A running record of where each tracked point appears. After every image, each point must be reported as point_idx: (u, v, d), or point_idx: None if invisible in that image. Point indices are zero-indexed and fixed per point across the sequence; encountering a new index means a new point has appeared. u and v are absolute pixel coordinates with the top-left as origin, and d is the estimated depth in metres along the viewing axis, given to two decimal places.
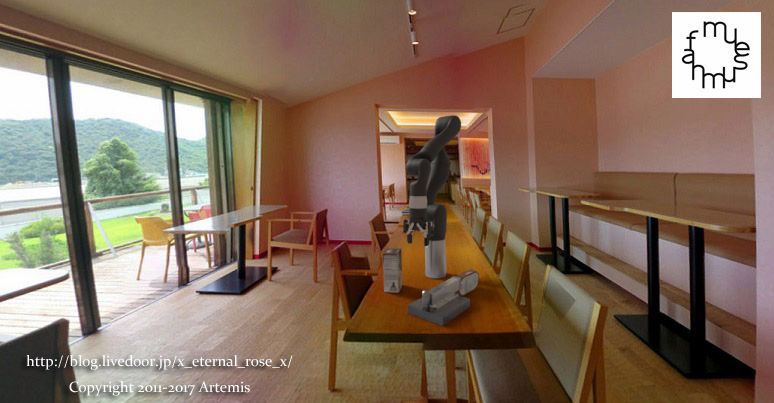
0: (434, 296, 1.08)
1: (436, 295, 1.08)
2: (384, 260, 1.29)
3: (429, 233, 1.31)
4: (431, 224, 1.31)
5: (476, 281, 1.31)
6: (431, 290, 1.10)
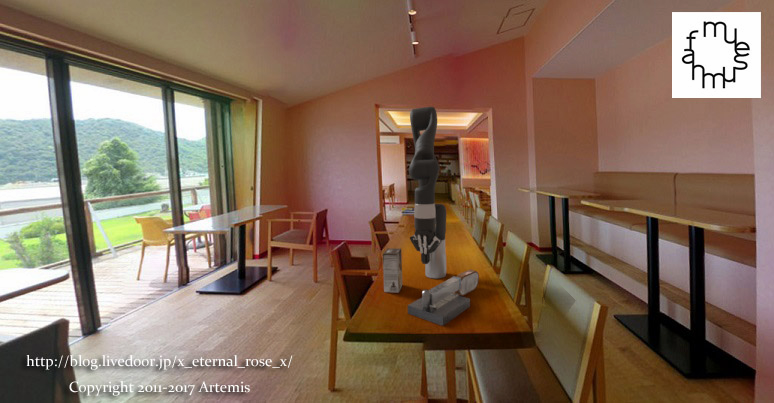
0: (434, 296, 1.08)
1: (436, 295, 1.08)
2: (384, 260, 1.29)
3: (429, 249, 1.14)
4: (438, 243, 1.12)
5: (476, 281, 1.31)
6: (431, 290, 1.10)
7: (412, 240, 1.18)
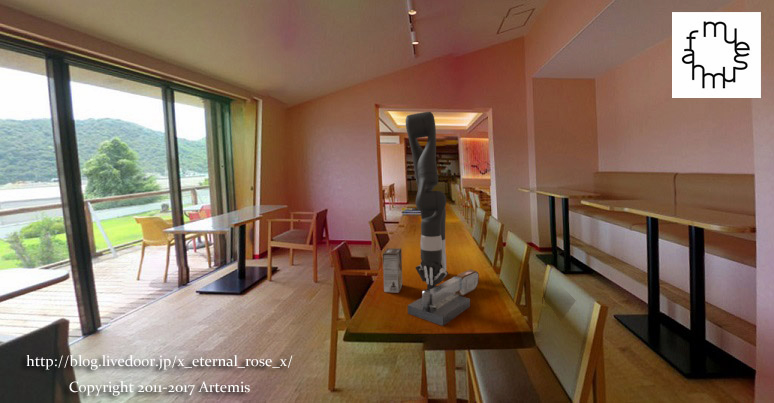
0: (434, 296, 1.08)
1: (436, 295, 1.08)
2: (384, 260, 1.29)
3: (435, 281, 1.13)
4: (444, 276, 1.12)
5: (476, 281, 1.31)
6: (431, 290, 1.10)
7: (418, 270, 1.18)
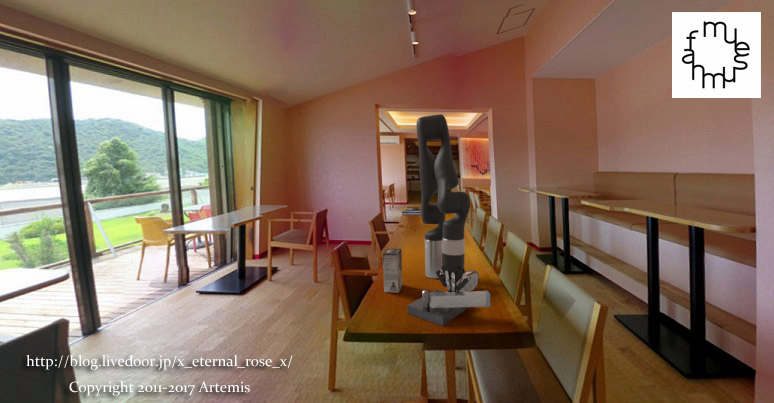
0: (435, 299, 1.05)
1: (438, 299, 1.05)
2: (384, 260, 1.29)
3: (458, 287, 1.07)
4: (467, 281, 1.06)
5: (476, 281, 1.31)
6: (438, 293, 1.07)
7: (438, 275, 1.12)
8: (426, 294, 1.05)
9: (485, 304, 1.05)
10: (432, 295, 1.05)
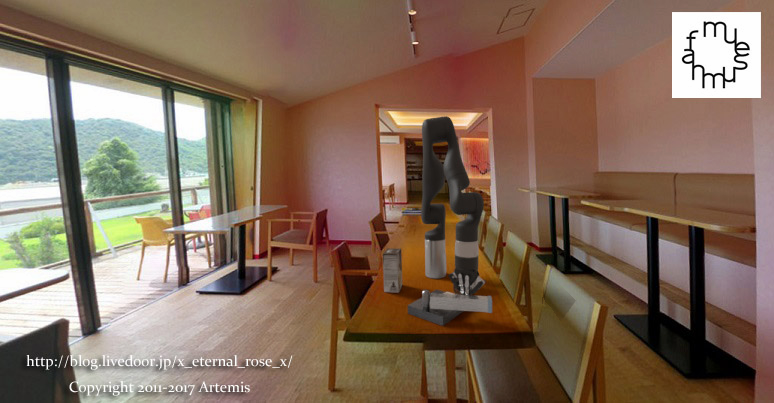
0: (434, 300, 1.04)
1: (437, 300, 1.04)
2: (384, 260, 1.29)
3: (472, 290, 1.04)
4: (482, 284, 1.02)
5: (476, 281, 1.31)
6: (438, 294, 1.06)
7: (451, 278, 1.09)
8: (426, 294, 1.05)
9: (487, 310, 1.01)
10: (432, 296, 1.05)
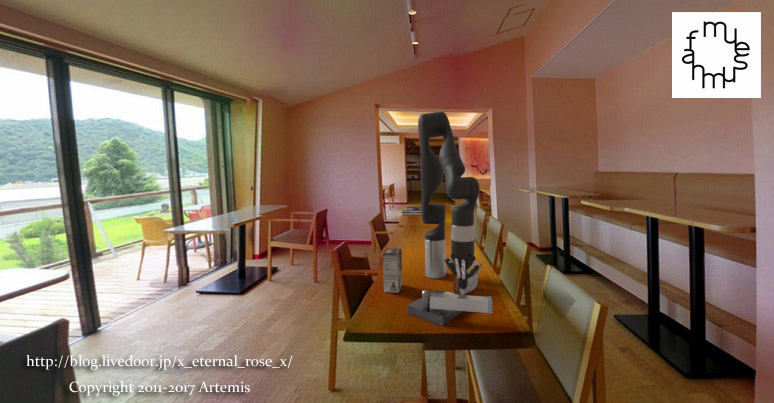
0: (434, 300, 1.04)
1: (437, 300, 1.04)
2: (384, 260, 1.29)
3: (468, 274, 1.05)
4: (478, 268, 1.03)
5: (476, 281, 1.31)
6: (438, 294, 1.06)
7: (448, 263, 1.09)
8: (426, 294, 1.05)
9: (487, 310, 1.01)
10: (431, 296, 1.05)
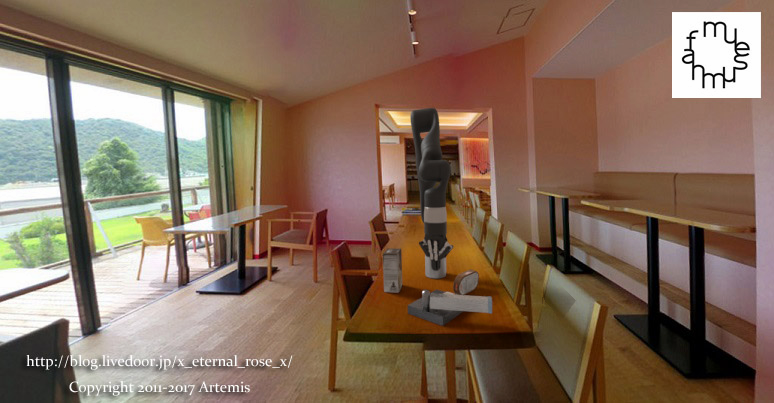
0: (434, 300, 1.04)
1: (437, 300, 1.04)
2: (384, 260, 1.29)
3: (440, 255, 1.07)
4: (450, 249, 1.05)
5: (476, 281, 1.31)
6: (438, 294, 1.06)
7: (421, 245, 1.12)
8: (426, 294, 1.05)
9: (487, 310, 1.01)
10: (431, 296, 1.05)
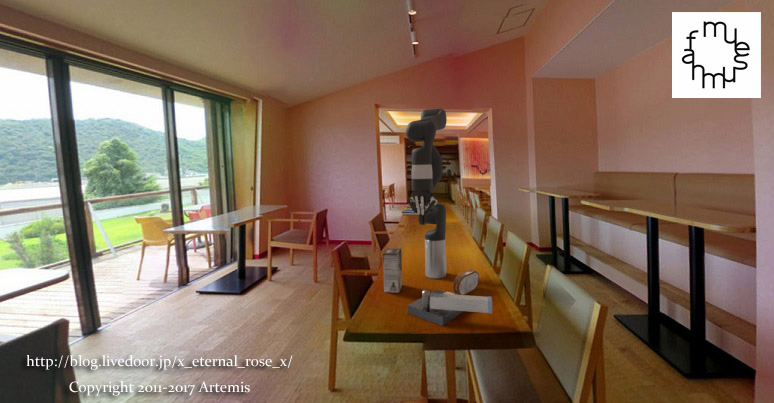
0: (434, 300, 1.04)
1: (437, 300, 1.04)
2: (384, 260, 1.29)
3: (426, 210, 1.15)
4: (435, 203, 1.14)
5: (476, 281, 1.31)
6: (438, 294, 1.06)
7: (409, 202, 1.20)
8: (426, 294, 1.05)
9: (487, 310, 1.01)
10: (431, 296, 1.05)
